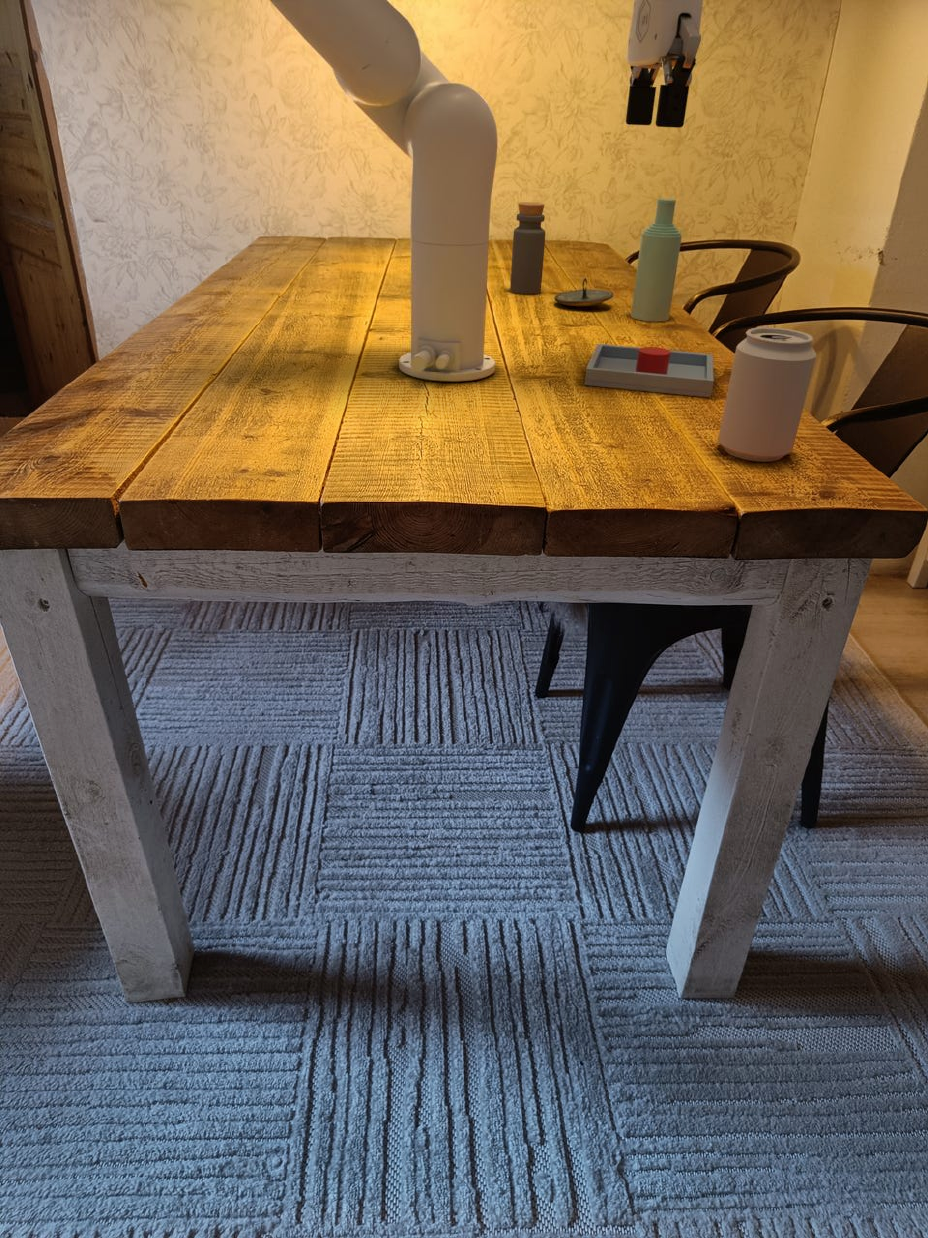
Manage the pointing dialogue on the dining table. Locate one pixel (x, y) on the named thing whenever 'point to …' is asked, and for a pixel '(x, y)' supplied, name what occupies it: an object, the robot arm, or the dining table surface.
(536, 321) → the dining table surface
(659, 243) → the water bottle
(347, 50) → the robot arm
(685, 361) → the tray
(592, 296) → the lid
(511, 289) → the bottle
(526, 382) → the dining table surface
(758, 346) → the can
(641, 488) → the dining table surface
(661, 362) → the cap
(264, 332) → the dining table surface
